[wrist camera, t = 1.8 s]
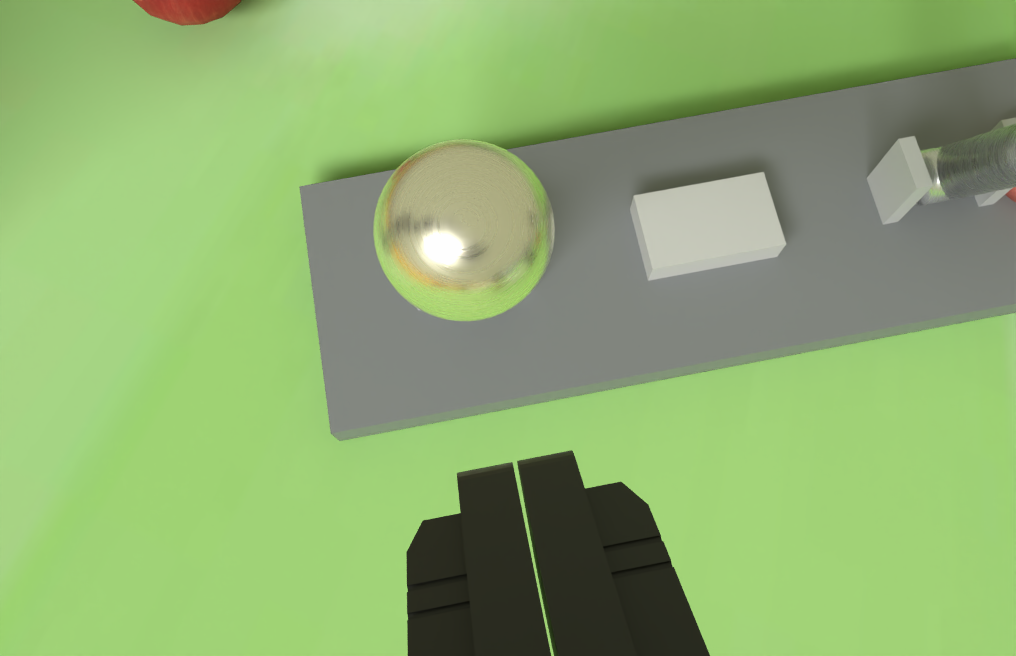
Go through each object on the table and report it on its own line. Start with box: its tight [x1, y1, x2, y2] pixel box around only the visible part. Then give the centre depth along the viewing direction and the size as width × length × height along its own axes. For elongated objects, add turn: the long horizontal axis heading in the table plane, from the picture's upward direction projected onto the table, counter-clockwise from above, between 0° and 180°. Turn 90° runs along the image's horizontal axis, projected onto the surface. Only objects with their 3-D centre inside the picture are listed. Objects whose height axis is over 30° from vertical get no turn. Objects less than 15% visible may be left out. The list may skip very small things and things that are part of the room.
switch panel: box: [300, 58, 1016, 441], centre depth 32 cm, size 10×30×4 cm, turn 101°
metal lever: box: [373, 139, 555, 321], centre depth 24 cm, size 4×4×17 cm
